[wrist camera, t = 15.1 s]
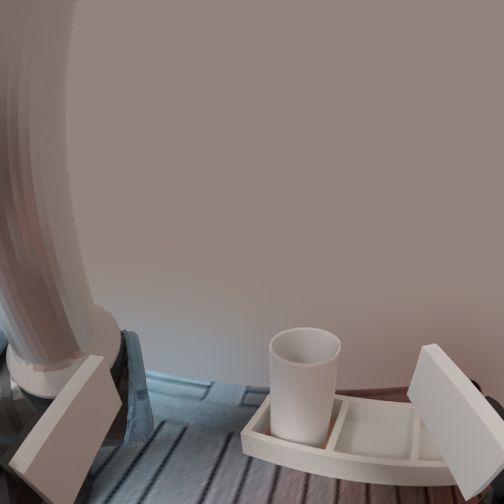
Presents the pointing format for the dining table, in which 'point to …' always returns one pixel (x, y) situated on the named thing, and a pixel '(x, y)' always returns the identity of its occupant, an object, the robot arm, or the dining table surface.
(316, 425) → the cup
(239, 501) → the dining table surface
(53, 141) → the robot arm
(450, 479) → the bay rack
